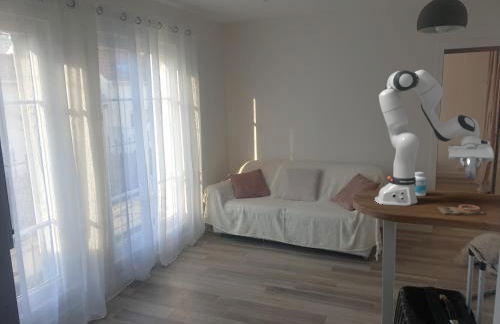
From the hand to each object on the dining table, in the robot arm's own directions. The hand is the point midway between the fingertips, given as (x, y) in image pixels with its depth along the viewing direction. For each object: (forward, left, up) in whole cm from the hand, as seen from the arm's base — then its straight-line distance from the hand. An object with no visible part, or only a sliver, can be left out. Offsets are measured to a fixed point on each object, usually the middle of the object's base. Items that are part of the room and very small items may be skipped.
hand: (470, 166), depth 188 cm
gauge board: (-8, -9, -21) cm, 24 cm away
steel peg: (0, +1, -6) cm, 6 cm away
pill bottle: (-18, +25, -21) cm, 37 cm away
